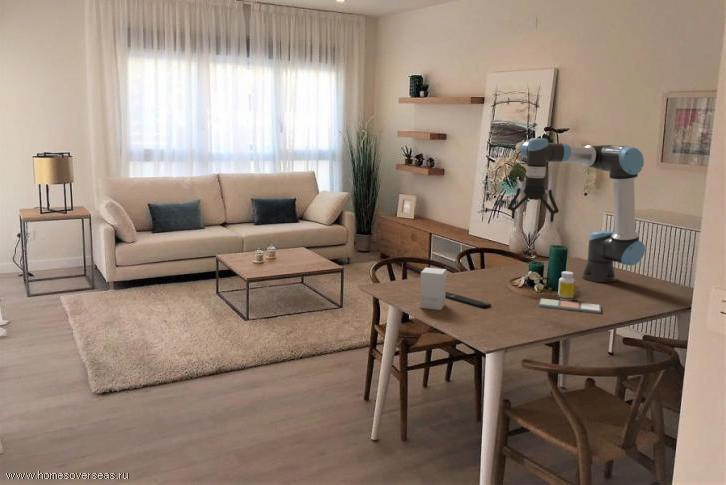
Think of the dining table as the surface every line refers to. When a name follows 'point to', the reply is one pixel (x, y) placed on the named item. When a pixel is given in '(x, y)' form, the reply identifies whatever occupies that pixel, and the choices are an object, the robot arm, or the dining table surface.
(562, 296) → the pill bottle
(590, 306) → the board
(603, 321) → the dining table surface
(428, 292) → the supplement box
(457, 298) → the remote control
